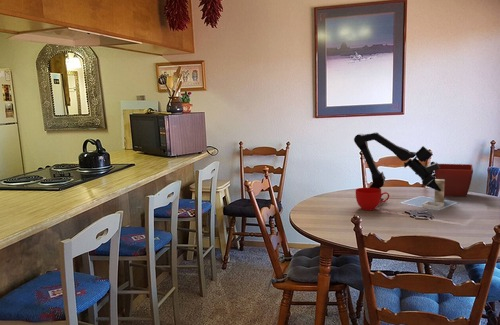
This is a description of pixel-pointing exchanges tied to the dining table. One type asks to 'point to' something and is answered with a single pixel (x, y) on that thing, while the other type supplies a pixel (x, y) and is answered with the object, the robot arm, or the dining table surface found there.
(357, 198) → the ceramic cup
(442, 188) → the maple pillar
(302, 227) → the dining table surface
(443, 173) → the plant pot
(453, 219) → the dining table surface
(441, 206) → the collar
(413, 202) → the board
